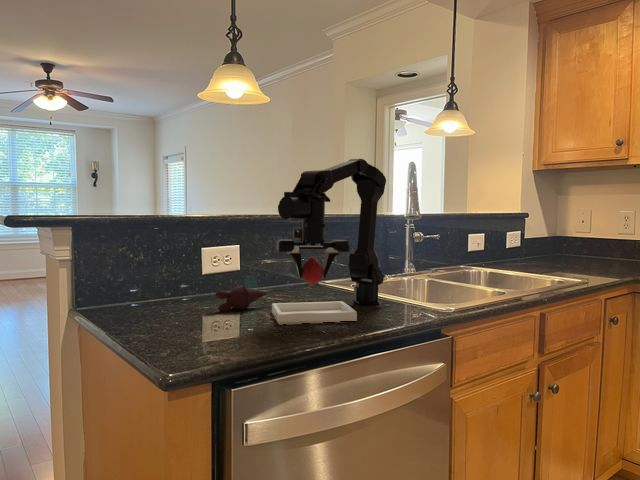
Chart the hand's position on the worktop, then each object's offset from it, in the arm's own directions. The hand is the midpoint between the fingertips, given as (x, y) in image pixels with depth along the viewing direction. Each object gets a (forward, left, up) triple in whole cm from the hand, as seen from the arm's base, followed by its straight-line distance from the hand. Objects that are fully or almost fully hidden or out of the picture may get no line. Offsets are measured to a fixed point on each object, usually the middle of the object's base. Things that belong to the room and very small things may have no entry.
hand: (312, 278), depth 125 cm
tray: (0, +1, -10) cm, 10 cm away
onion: (0, 0, -2) cm, 2 cm away
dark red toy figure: (+17, -12, -10) cm, 23 cm away
